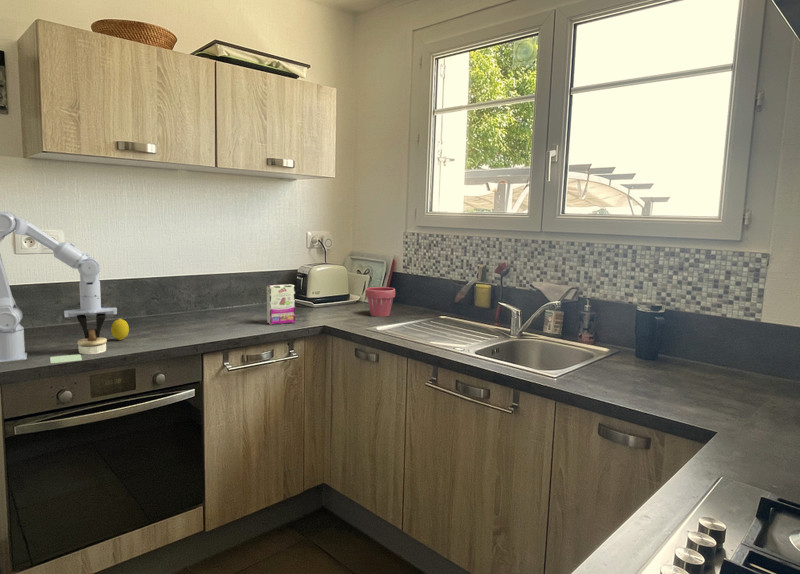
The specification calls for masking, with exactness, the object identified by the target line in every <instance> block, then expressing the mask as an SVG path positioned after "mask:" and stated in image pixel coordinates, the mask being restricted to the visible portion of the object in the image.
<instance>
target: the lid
mask: <svg viewBox="0 0 800 574" xmlns="http://www.w3.org/2000/svg"><path fill="white" fill-rule="evenodd" d="M87 334H88V339H85V338H81V339H78V340H77V345H83V346H90V345H99V344H104V343H106V344H107V342H108V341H107V340H108V339H107V338H105V337H101V336H99V338H97V330H96V328H89V329H88V328H87Z"/></svg>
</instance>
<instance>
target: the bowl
mask: <svg viewBox="0 0 800 574" xmlns="http://www.w3.org/2000/svg"><path fill="white" fill-rule="evenodd" d="M77 345H78V344H77ZM106 351H107V342H106V343H104V344H99V345H90V346H83V345H78V354H81V355H96V354H101V353H105V352H106Z"/></svg>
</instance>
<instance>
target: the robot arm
mask: <svg viewBox="0 0 800 574" xmlns="http://www.w3.org/2000/svg"><path fill="white" fill-rule="evenodd" d="M13 232H14V234H15V235H21V236H26V237H29V238H31V239H32V240H34V241H35V242H38V244H39V243H40V244H41V245H43V246H44V247H46V248H48V249H50V250H51V251H53V257H55V258H56V259H57V260H58V261H61V262H62V263H64V264H65V265H66V266H68V267H70V268H72V269H74V270H76V269H77V271H78V274H79V303H80V304H79V305H80V308H77V309H66V310H64V311H63V315H64V318H69V317H70V318H71V317H76V319H77V321H78V323H79V325H80V326H81V328H82V329H81V330H83V334H84V339H88V334H87V330H88V327H87V325H88V324H87V323H88V322H87V316H88V317H89V316H95V321H96V322H95V324H96V326H95V327H96V328H95V329H96V330H97V338H99V337H100V335H101V331H102V330H101V329H102V327H103V324H104V322H105V320H106V318H107V317H106V315H117V314H118V308H117V307H102V300H101V299H102V296H101V294H102V293H101V281H100V274H99V273H100V272H101V268H100V263H99V262H98V261H97V259H96V258H94V257H92V256H90V254H89V253H85V252H83V251H82V250H80V249H79V248H77V247H76V244H75V243H73V242H71V243H69V242H67V241H65V242H60V241H58V240H57V239H55V238H53V236H51V235H49V234H48V233H46V232H44V230H41V228H39V227H38V226H36V225H34V224H33V223H31V222H30V221H27V220H26V219H23V218H22V217H19V216H16V214H14V213H12V212H9V211H0V243H1V242H2V241H3V240H4V239H5V237H7V236H8V235H10V234H11V233H13ZM16 303H17V302H16V300H15V299H14V297H13V293H12V291H11V287H10V284H9V279H8V277H7V273H6V269H5V265H4V263H3V258H2V255H1V254H0V363H3V362H14V361H23V360H24V361H26V360H27V358H28V357H27V356H28V352H25V351H26V348H25V330H24V326H22V325H21V321H22V319H23V317H24V315H23V311H22V310H21V308H20V307H19V306H17V304H16Z"/></svg>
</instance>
